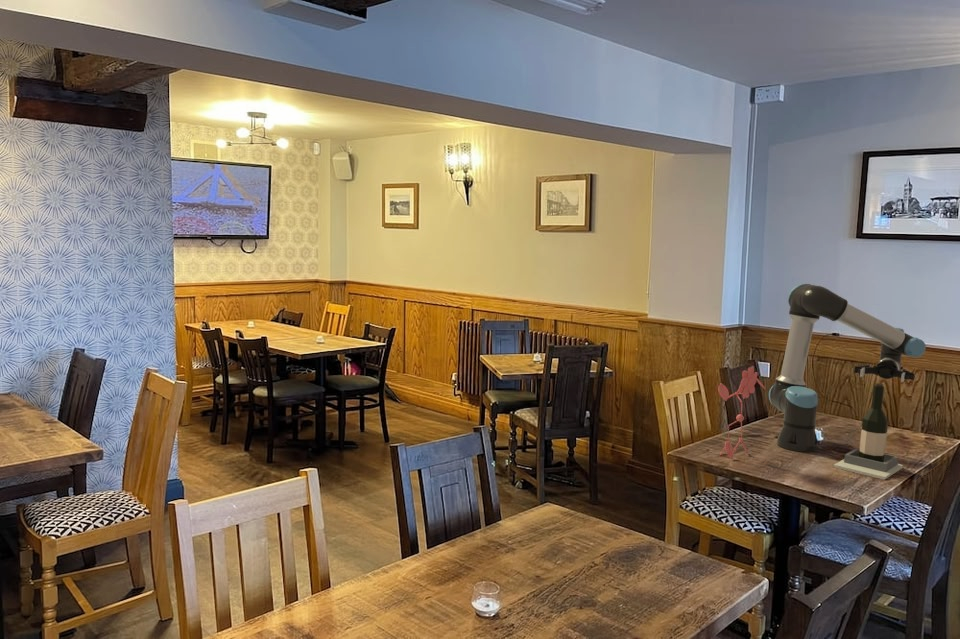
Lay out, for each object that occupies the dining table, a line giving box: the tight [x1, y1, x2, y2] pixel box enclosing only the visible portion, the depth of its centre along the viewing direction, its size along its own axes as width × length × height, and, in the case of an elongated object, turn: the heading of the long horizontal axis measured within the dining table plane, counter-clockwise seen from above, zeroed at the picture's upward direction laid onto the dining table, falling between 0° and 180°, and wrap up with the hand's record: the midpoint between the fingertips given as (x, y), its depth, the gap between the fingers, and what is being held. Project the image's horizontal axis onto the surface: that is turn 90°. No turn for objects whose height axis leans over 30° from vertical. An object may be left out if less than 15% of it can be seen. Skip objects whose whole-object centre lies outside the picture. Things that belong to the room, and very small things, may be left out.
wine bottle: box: [859, 382, 889, 463], centre depth 261 cm, size 8×8×30 cm
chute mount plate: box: [833, 447, 904, 481], centre depth 261 cm, size 21×17×4 cm
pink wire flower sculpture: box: [709, 365, 767, 460], centre depth 265 cm, size 15×26×35 cm, turn 130°
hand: (881, 375), depth 268 cm, fingers open, 13 cm apart
